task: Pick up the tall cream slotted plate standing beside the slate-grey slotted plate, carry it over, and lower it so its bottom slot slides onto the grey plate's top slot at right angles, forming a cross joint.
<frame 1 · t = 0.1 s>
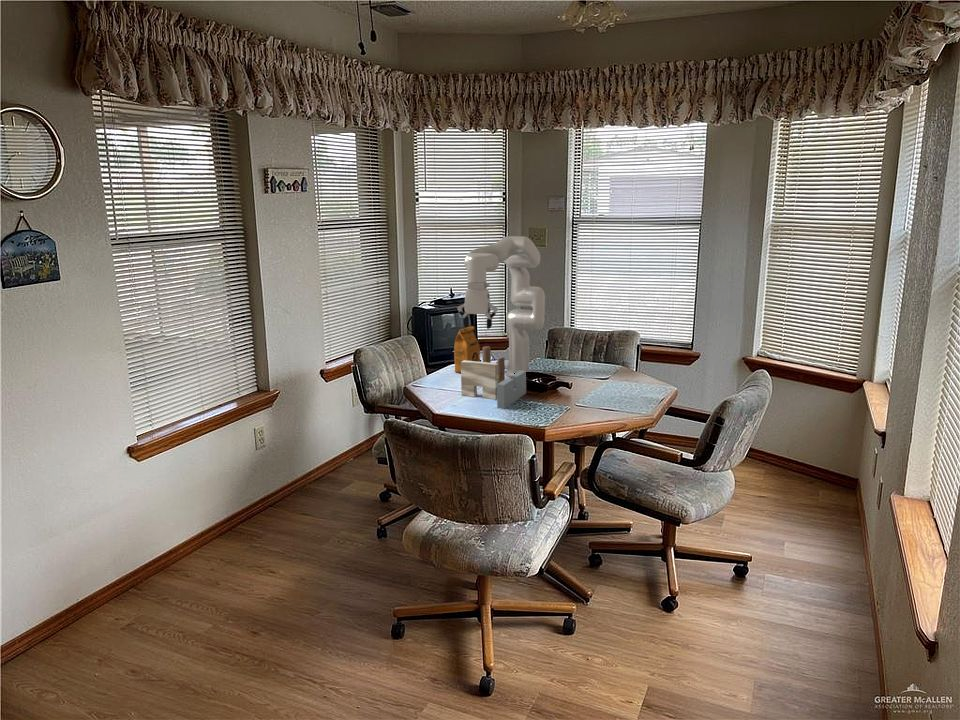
hand: (477, 327, 276), 31 cm above the table, tool pointing down, fingers open, 9 cm apart
coffee package: (467, 371, 331), on the table
wooden block: (493, 387, 303), on the table
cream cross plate: (479, 396, 288), on the table
grey base plate: (512, 400, 282), on the table
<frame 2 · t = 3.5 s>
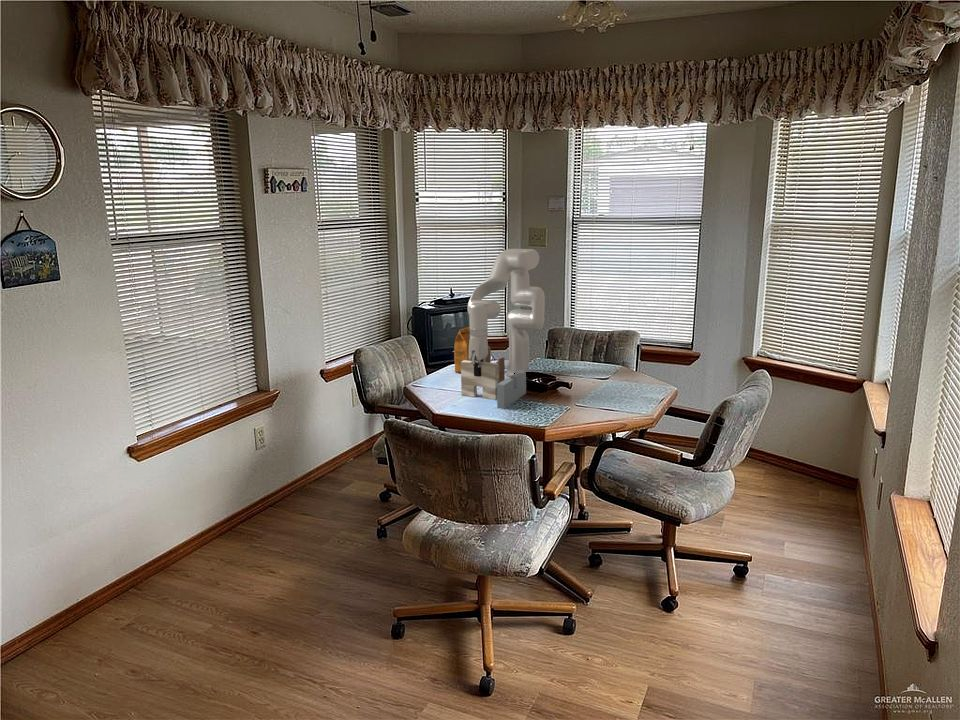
hand: (479, 374, 286), 10 cm above the table, tool pointing down, fingers closed on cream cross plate, 3 cm apart
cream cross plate: (479, 396, 288), on the table, touching gripper
everything else where it was.
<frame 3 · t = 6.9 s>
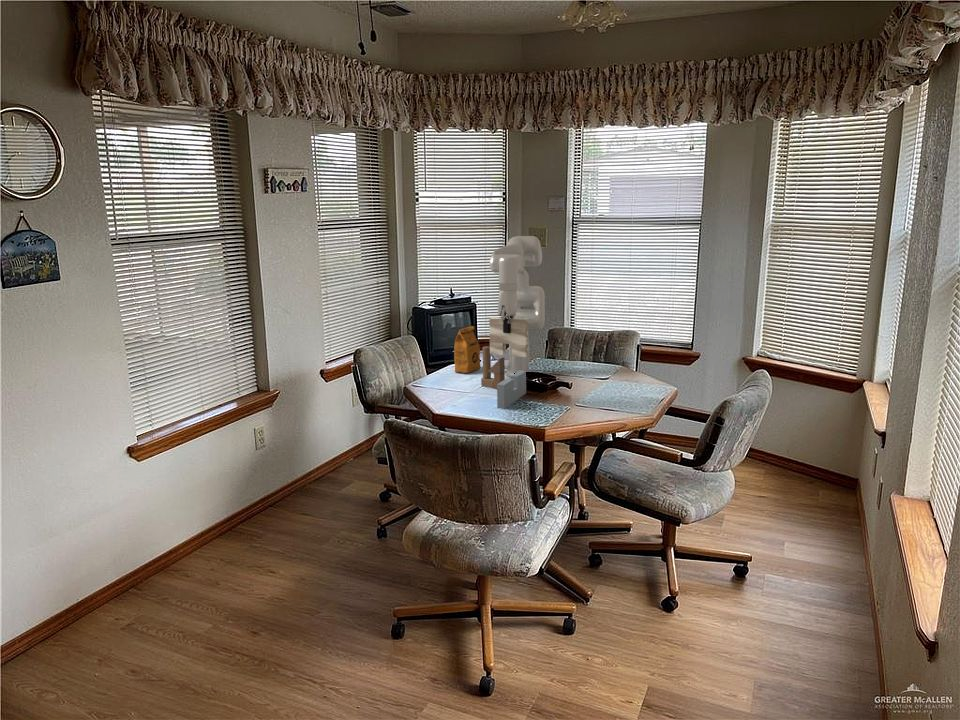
hand: (508, 331, 276), 29 cm above the table, tool pointing down, fingers closed on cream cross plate, 3 cm apart
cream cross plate: (508, 354, 278), point 20 cm above the table, touching gripper
everything else where it was.
when the fingers open (12 cm above the table, at t = 10.4 s): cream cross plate drops 2 cm, resting on grey base plate.
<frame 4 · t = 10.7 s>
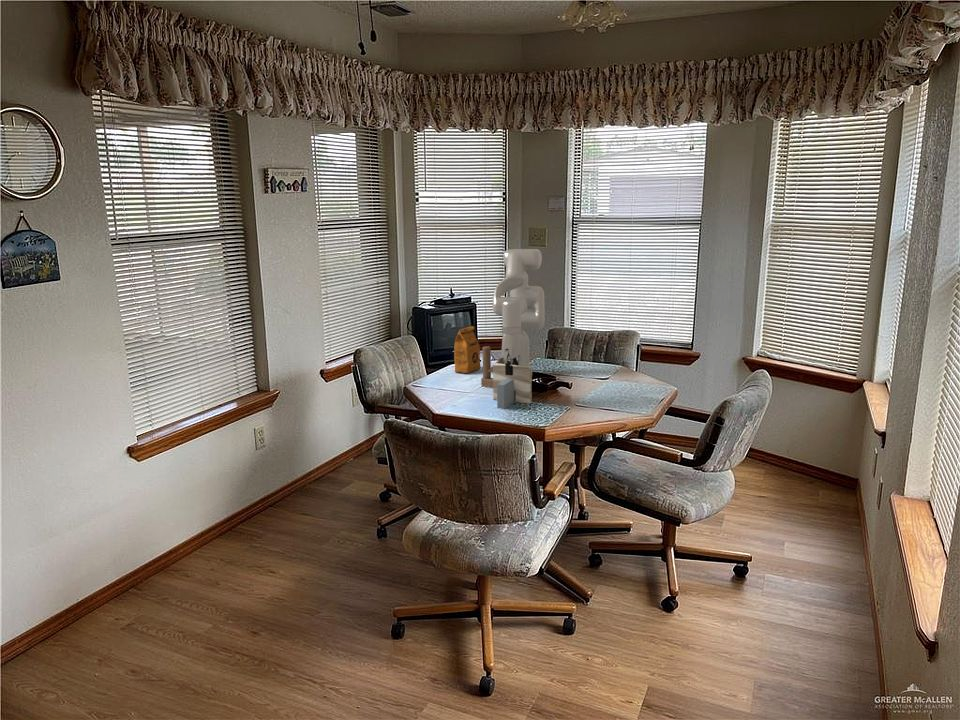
hand: (512, 372, 279), 12 cm above the table, tool pointing down, fingers open, 5 cm apart
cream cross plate: (512, 400, 282), resting on grey base plate
everything else where it was.
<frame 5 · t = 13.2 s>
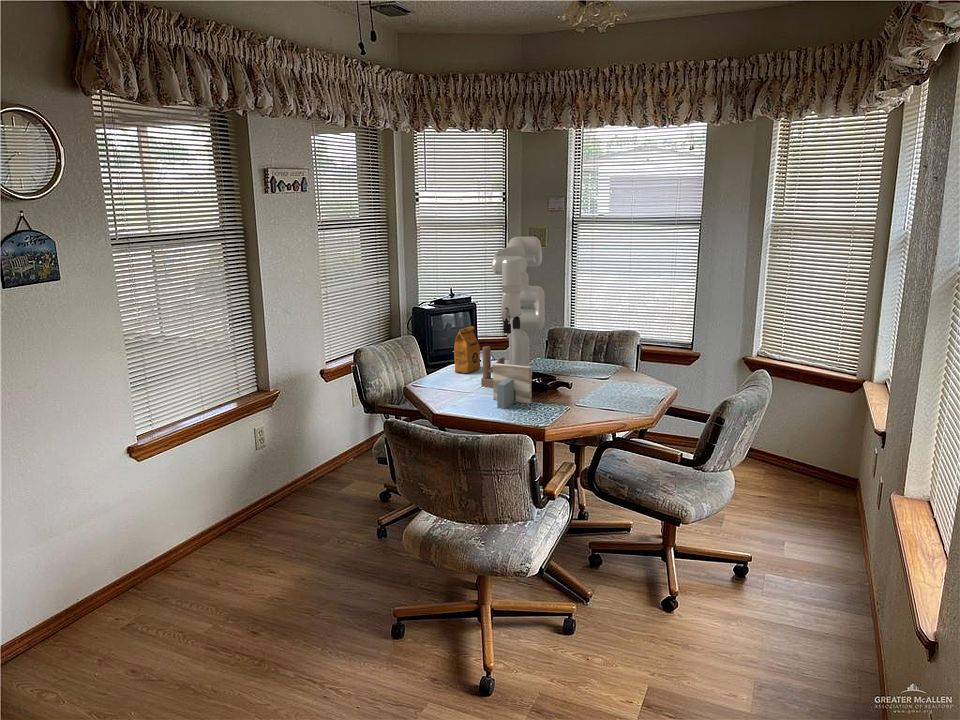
hand: (511, 331, 275), 30 cm above the table, tool pointing down, fingers open, 9 cm apart
nothing on the table moved.
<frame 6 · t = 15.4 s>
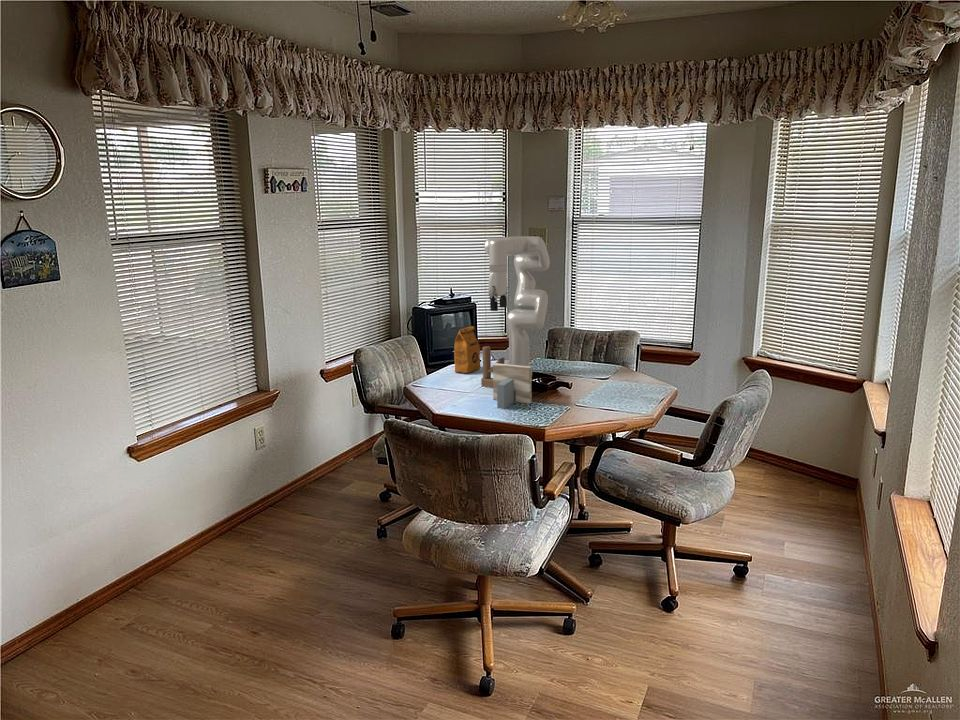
hand: (498, 309, 289), 36 cm above the table, tool pointing down, fingers open, 9 cm apart
nothing on the table moved.
at the end: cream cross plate 0.1 cm off-centre on the grey base plate, point 0.0 cm above the grey base plate's base; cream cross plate tilted 0°; the gripper is holding nothing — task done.
